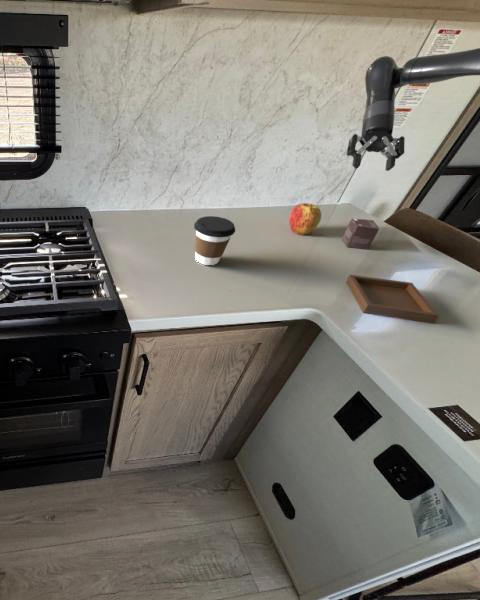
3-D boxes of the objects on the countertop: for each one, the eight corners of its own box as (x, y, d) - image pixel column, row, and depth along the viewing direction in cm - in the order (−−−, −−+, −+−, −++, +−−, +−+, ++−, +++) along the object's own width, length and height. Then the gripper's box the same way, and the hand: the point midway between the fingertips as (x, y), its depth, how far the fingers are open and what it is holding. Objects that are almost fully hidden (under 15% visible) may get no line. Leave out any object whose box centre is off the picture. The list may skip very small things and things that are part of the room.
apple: (283, 225, 122) (293, 197, 116) (312, 228, 119) (323, 200, 113) (285, 235, 115) (296, 207, 109) (316, 239, 112) (329, 210, 107)
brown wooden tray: (406, 290, 89) (411, 282, 88) (433, 323, 79) (439, 315, 77) (345, 281, 93) (349, 274, 91) (363, 312, 82) (367, 305, 81)
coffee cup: (201, 273, 97) (210, 234, 89) (180, 255, 105) (187, 218, 98) (233, 266, 99) (245, 228, 92) (210, 249, 108) (219, 213, 101)
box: (368, 250, 107) (380, 228, 102) (345, 247, 108) (356, 225, 104) (362, 241, 111) (373, 220, 107) (340, 239, 113) (351, 217, 108)
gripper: (358, 111, 106) (353, 160, 105) (413, 113, 103) (408, 163, 101) (345, 127, 114) (340, 172, 112) (396, 129, 110) (391, 176, 108)
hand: (373, 168), depth 106 cm, fingers open, 8 cm apart
